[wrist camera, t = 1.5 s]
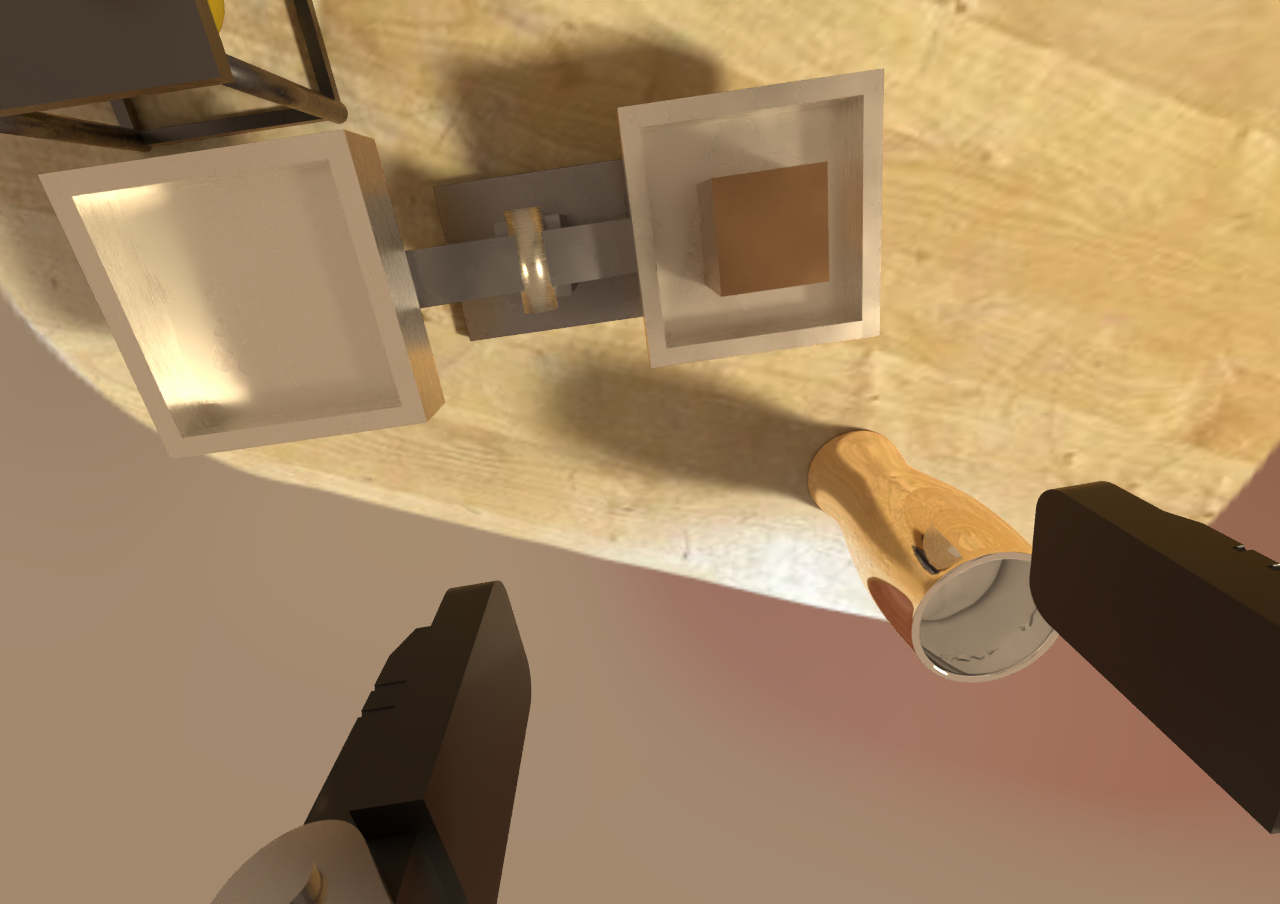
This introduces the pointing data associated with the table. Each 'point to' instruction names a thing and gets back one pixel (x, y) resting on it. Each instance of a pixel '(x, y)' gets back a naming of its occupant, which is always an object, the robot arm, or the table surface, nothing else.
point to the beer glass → (932, 560)
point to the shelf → (475, 258)
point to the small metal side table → (139, 70)
